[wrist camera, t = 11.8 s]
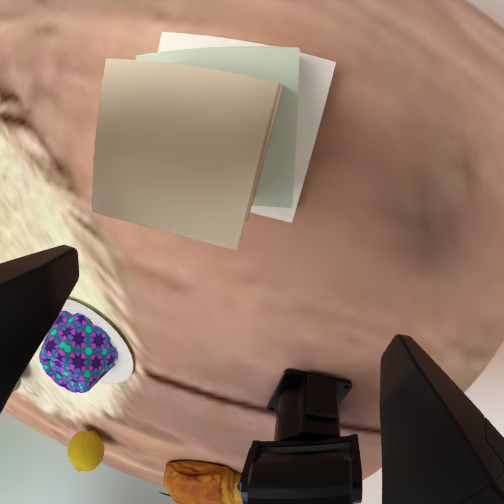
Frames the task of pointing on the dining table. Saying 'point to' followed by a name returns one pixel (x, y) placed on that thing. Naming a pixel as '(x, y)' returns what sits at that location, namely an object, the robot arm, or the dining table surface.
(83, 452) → the lemon
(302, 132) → the base block
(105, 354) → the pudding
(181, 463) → the croissant
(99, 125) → the birch cube
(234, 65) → the sage green block
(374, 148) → the dining table surface
